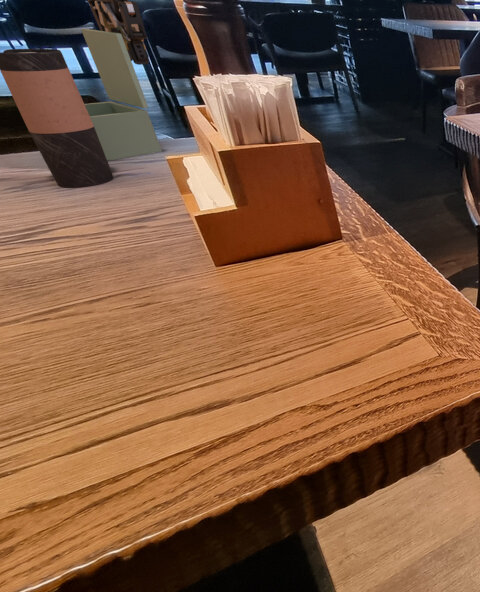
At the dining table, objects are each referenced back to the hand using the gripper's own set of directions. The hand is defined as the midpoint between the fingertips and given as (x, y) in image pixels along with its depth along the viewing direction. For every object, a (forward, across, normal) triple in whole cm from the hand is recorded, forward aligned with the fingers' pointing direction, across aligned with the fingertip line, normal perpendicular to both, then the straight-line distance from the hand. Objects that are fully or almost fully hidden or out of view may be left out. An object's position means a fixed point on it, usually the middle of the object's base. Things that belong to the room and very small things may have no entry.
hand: (134, 62), depth 99 cm
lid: (+1, 0, -4) cm, 4 cm away
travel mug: (+16, +14, -18) cm, 28 cm away
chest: (+16, 0, -9) cm, 19 cm away
